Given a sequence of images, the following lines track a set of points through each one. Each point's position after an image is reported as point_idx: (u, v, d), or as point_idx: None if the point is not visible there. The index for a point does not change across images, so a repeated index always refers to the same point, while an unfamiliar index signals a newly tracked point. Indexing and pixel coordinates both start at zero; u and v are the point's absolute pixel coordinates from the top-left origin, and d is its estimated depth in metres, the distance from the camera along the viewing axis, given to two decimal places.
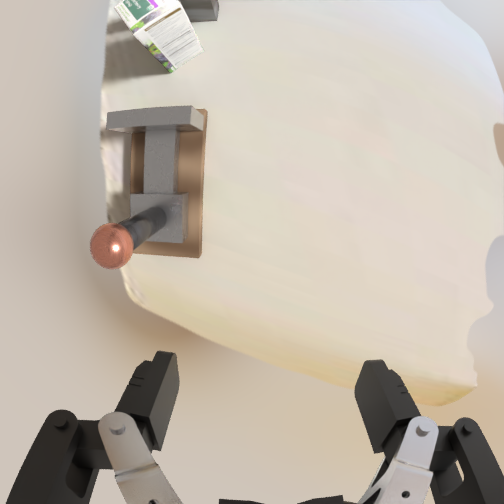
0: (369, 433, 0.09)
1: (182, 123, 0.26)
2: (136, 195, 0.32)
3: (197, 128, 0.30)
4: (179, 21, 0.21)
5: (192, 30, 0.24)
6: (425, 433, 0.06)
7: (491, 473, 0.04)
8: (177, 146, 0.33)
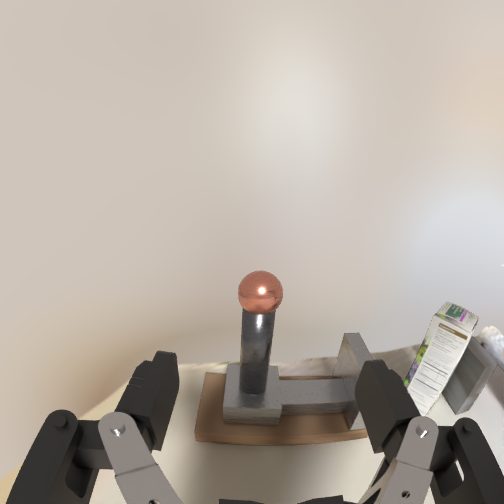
0: (368, 433, 0.09)
1: None
2: (276, 370, 0.31)
3: (357, 415, 0.24)
4: (454, 352, 0.24)
5: (447, 377, 0.25)
6: (425, 433, 0.06)
7: (491, 473, 0.04)
8: (329, 409, 0.28)
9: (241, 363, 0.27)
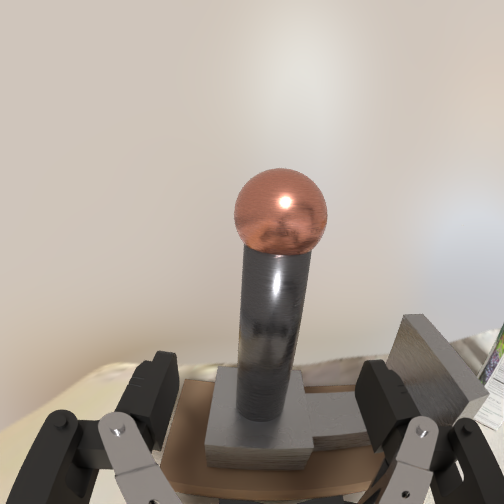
0: (369, 433, 0.09)
1: (462, 392, 0.11)
2: (299, 378, 0.18)
3: None
4: None
5: None
6: (425, 433, 0.06)
7: (491, 473, 0.04)
8: None
9: (239, 365, 0.14)
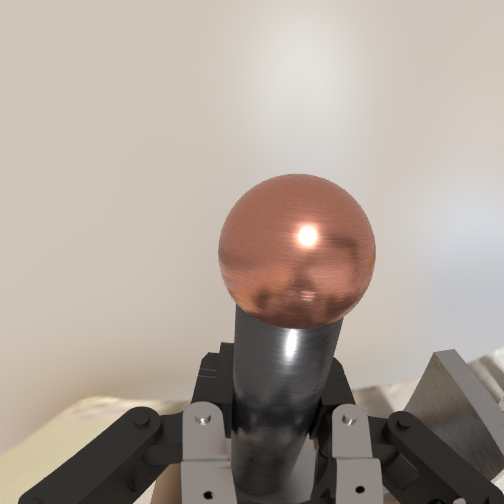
0: None
1: (502, 454, 0.06)
2: None
3: None
4: None
5: None
6: (351, 421, 0.07)
7: (447, 460, 0.05)
8: None
9: (234, 445, 0.09)
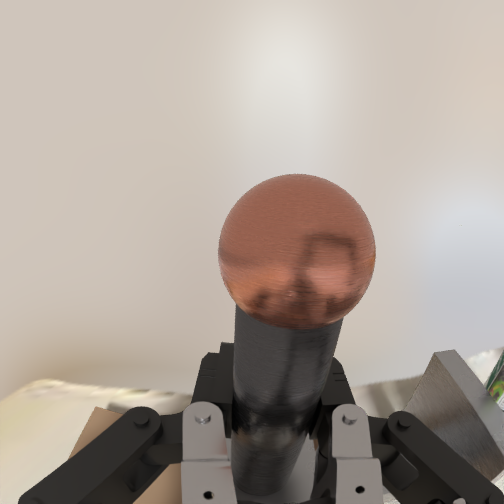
0: None
1: (502, 454, 0.06)
2: None
3: None
4: None
5: None
6: (351, 421, 0.07)
7: (447, 460, 0.05)
8: None
9: (234, 445, 0.09)
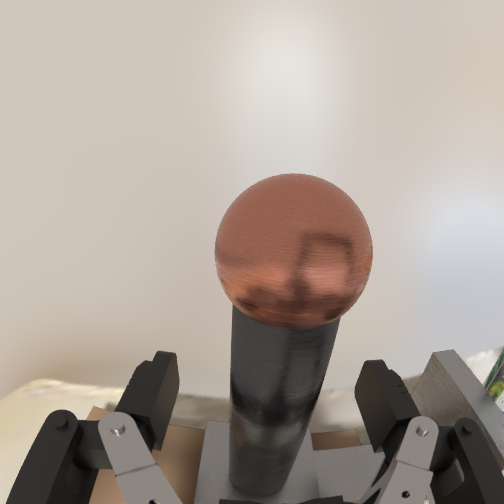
0: (369, 433, 0.09)
1: (501, 454, 0.06)
2: (307, 435, 0.13)
3: None
4: None
5: None
6: (425, 433, 0.06)
7: (490, 473, 0.04)
8: None
9: (231, 445, 0.09)
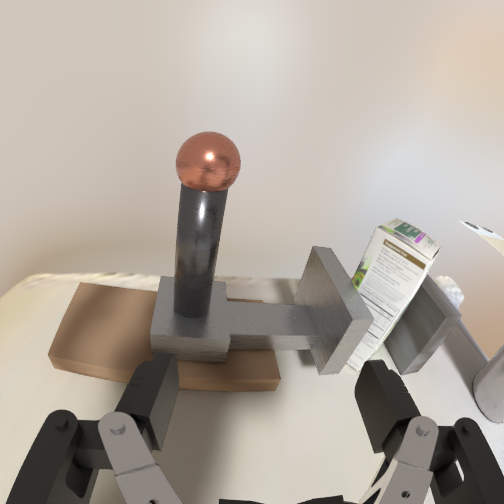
0: (368, 433, 0.09)
1: (349, 312, 0.19)
2: (223, 288, 0.25)
3: (330, 354, 0.21)
4: (405, 285, 0.20)
5: (393, 321, 0.22)
6: (425, 433, 0.06)
7: (490, 473, 0.04)
8: (291, 344, 0.24)
9: (176, 270, 0.20)
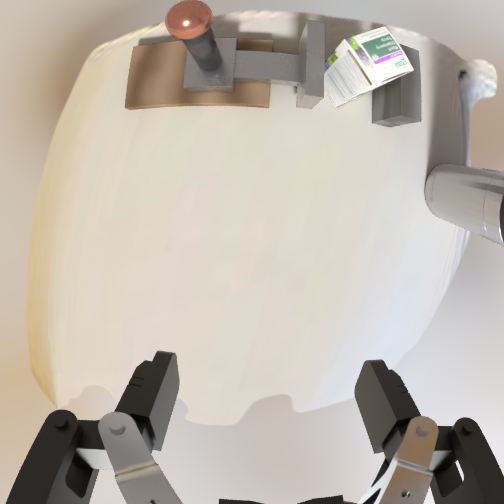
0: (369, 433, 0.09)
1: (306, 88, 0.25)
2: (234, 43, 0.27)
3: (299, 102, 0.30)
4: (359, 83, 0.23)
5: (352, 96, 0.27)
6: (425, 433, 0.06)
7: (491, 473, 0.04)
8: (281, 83, 0.31)
9: (191, 55, 0.24)
